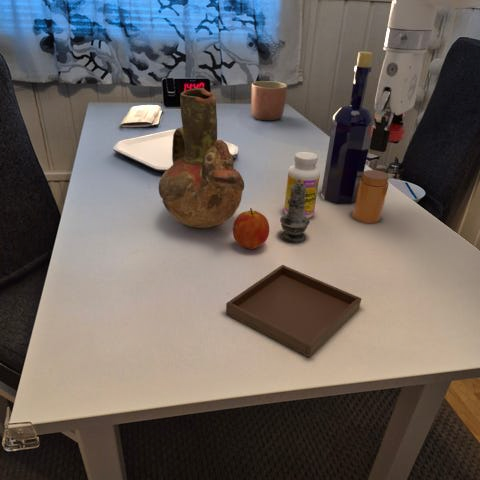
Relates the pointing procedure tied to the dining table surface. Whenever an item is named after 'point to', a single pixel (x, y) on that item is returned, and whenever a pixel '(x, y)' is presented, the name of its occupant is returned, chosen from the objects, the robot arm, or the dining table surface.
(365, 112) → the bottle
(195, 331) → the dining table surface
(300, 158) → the supplement bottle
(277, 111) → the planter
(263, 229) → the fruit
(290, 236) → the grey carved figurine
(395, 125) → the jar lid
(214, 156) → the ceramic vessel
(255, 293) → the tray
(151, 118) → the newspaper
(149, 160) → the plate
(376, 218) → the jar
